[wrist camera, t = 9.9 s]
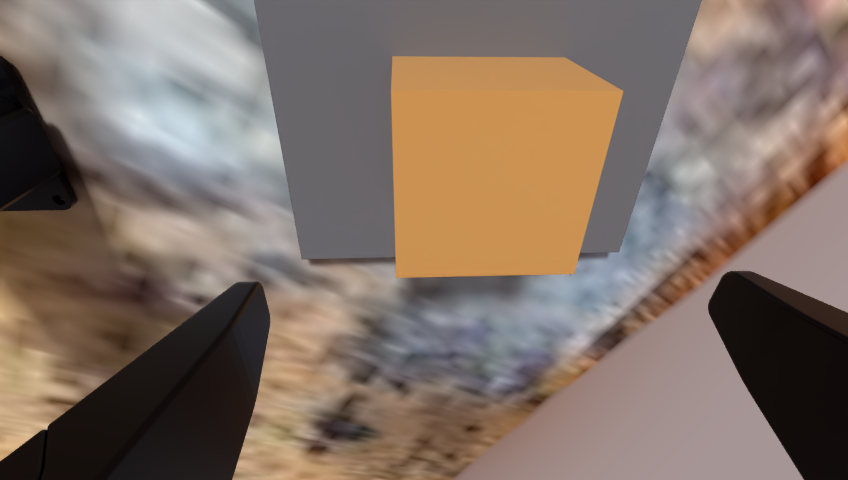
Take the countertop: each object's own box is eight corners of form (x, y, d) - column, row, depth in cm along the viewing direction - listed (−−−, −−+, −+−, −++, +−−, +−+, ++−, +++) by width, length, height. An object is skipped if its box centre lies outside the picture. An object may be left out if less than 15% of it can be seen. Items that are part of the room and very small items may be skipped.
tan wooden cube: (396, 209, 19) (396, 277, 15) (392, 56, 16) (391, 90, 12) (536, 207, 20) (574, 273, 16) (565, 57, 16) (623, 91, 12)
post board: (305, 247, 21) (288, 300, 18) (256, -32, 15) (215, -30, 12) (610, 241, 22) (648, 290, 19) (693, -27, 16) (773, -23, 12)
